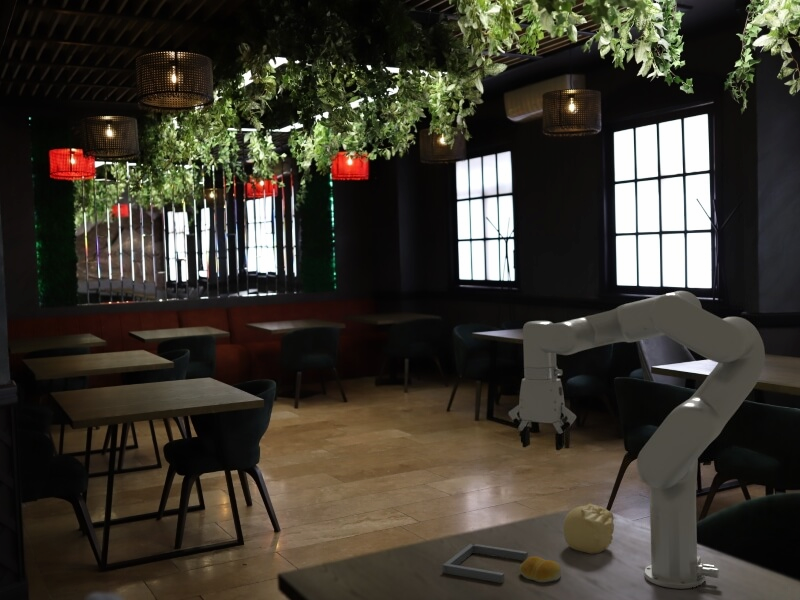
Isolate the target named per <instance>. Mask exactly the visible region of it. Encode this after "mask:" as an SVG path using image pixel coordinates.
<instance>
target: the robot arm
mask: <svg viewBox="0 0 800 600" xmlns="http://www.w3.org/2000/svg"><path fill="white" fill-rule="evenodd" d="M522 327H523V328H522V335H523V336H522V340H523V368H524V369H523V371H524V372H523V373H524V374H523V375H524V378H522V379H521V383H520V391H519V401H518V403H519V404H517V405H515V407H513V408H512V409H511V410H509V411H508V416H509V417H510V418H511V420H512V422H513V423H514V425H516V427H517V428H518V430H519V431H520V443H521V444H522V448H527V447H528V446H530V445H531V439H530V438H531V435H530V434H531V433H530V431H531V430H530V428H528V427H529V425H530V423H531V422H533V423H545V424H546V423H547V424H552V425H553V426H554V428H555V430H556V433H555V435H554V436H555V440H554V441H555V450H556V451H560V450H562V449H563V448H564V447H565V432H566V431H567V430H568V428H570V427H571V426H572V425H573V423H574V422H575V420H576V419H577V415H576V414H575V413H573V412H572V411H571V410H570V409H569V408H567V407H566V404H565V398H564V397H565V395H564V389H563V385H562V381H561V380H562V379H561V378H558V376H563V369H559V368H558V366H557V355H563V356H569V355H573V354H576V353H578V352H582V351H585V350H589V349H593V348H597V347H602V346H606V345H610V344H615V343H621V342H622V343H623V342H624V343H625V342H626V343H634V342H635V343H636V342H640V341H644V340H647V339H652V338H657V337H662V336H667V337H668V338H669V339H672V340H673V341H675V343H677V344H680V345H682V346H684V347H685V348H686V349H689V350H691V352H692V351H693V352H694V353H696V354H698V355H700V356H701V357H704V359H705V358H706V360H707V359H708V360H710V361H712V362H715V363H717V364H716V365H715V367H714V368H713V370H712V371H710V373H709V374H708V375H707V376H706V378H705V379H704V381H703V382H702V384H701V385H700V386H699V387H698V388H697V390H696V391H695V392H694V393H693V394H692V395H691V397H689V399H687V400H685V401H684V402H682V403H681V404H679V405H678V406H676V407H675V408H674V409H673V410H672V411H671V412H670V413H669V414H668V415H667V416H666V417H665V419H664V420H663V422H662V423H661V424H660V425H659V427H658V428H657V429H656V430H655V431H654V433H653V434H652V435H651V437H650V438H649V440H648V441H647V442H646V443H645V444H644V446H643V447H642V448H641V450H640V451H639V453H638V455H637V458H636V469H637V474H638V475H639V478H640V479H641V481H643V483H645V485H647V486H649V515H650V516H649V519H650V520H649V523H650V526H649V527H650V556H651V557H650V558H651V559H650V560H651V564H650V565H647V566H646V567H645V568H644V570H643V571H644V573H643V575H644V578H645V579H646V580H647V581H648V582H649V583H652V584H654V585H657V586H661V587H664V588H670V589H677V590H678V589H681V590H682V589H683V590H685V589H692V587H693V588H696V586H697V587H699V586H698V585H700V584H701V585H703V584H704V583H705V582H706V577H709V578H712V579H719V577H720V576H719V575H720V571H719V568H716V567H715V564H707V563H704V562H703V561H702V562H701V558H702V557H701V556H700V555H698V546H697V545H698V540H697V537H698V536H697V477H698V468H699V467H698V465H699V464H698V463H699V461H698V459H699V458H700V456H701V455H702V454H703V453H704V451H705V450H706V449H707V448H708V446H709V445H710V444H711V443H712V442H713V441H714V440H716V438H718V436H719V435H720V434H721V432H722V431H723V429H724V427H725V426H726V424H727V423H728V421H730V419H731V418H732V417H733V416H734V415H735V413H736V412H737V410H739V408H740V406H741V405H742V404H743V402H744V401H745V399H746V398H747V397H748V396H749V394H750V393H751V392H752V391H753V389H754V388H755V386H756V384H757V383H758V381H759V379H760V377H761V375H762V373H763V370H764V365H765V359H766V356H765V355H766V352H765V345H764V341H763V339H762V337H761V335H760V333H759V330H758V329H757V328H756V327H755V325H753V324H752V323H751V322H750V321H749V320H747V319H746V318H743V317H739V316H727V317H725V318H722V317H719V316H717V315H715V314H714V313H712V312H709V311H707V310H705V309H704V308H702V304H701V301H700V299H699V298H698V297H697V296H696V295H695V294H693V293H692V292H689V291H685V290H677V291H674V292H668V293H665V294H662V295H661V294H660V295H656V296H653V297H649V298H648V297H647V298H646V299H641V300H637V301H633V302H629V303H625V304H621V305H619V306H617V307H616V308H613V309H611V310H607V311H603V312H600V313H595V314H592V315H587V316H584V317H579V318H574V319H570V320H565V321H562V322H556V323H553V322H552V321H549V320H534V321H533V320H532V321H527V322H526V323H524V325H523V326H522ZM518 413H519V417H518ZM565 418H567V419H566V421H565V422H563V421H562V420H564V419H565ZM704 581H705V582H704ZM703 582H704V583H703ZM702 583H703V584H702ZM701 585H700V586H701Z"/></svg>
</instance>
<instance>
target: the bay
mask: <svg viewBox="0 0 800 600" xmlns="http://www.w3.org/2000/svg"><path fill="white" fill-rule="evenodd" d="M473 552H475V553H473ZM472 553H473V554H478V553H480V554H479V555H485V554H487V555H486V556H491V555H494V557H497V556H501V557H500V558H504V557H505V558H506V559H510V558H511V559H512V560H516V559H517V560H518V561H522V562H524V561H525V560H526V559H527V558H529V556H528V551H524V550H517V549H511V548H505V547H498V546H493V545H485V544H479V543H478V544H477V543H469V544H467V545H466V547H464V548H462V549H461V550H460V551H459V552H458V553H456V554H455V555H454V556H453V557H451V558H450V559H448V560H447V561H445V563H443V564H442V574H447V575H454V576H459V577H464V578H471V579H477V580H483V581H487V582H488V581H489V582H494V583H499V584H503V583H504V582H505V573H504V572H499V571H493V570H487V569H481V568H475V567H469V566H465V565H464V566H463V565H460V564H462V563H463V562H464V561H466V560H467V559H466V558H467V557H468V558H469V557H470V556H472V555H473V554H472ZM471 554H472V555H471ZM505 558H504V559H505ZM462 561H463V562H462ZM461 562H462V563H461Z"/></svg>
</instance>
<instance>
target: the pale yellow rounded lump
mask: <svg viewBox="0 0 800 600" xmlns="http://www.w3.org/2000/svg"><path fill="white" fill-rule="evenodd" d="M614 519H615V518H614V515H613V512H612V511H610V510H608V509H607V508H605V507H603V506H600V505H597V504H592V503H588V504H586V505H580V506H577V507H575V508H572V509H571V510H570V511H569V512H568V513H567V515H566V516H565V518H564V521H563V525H562V533H563V537H564V540H565V542H566V544H567V545H568V547H569V548H571V549H573V550H576V551H579V552H583V553H586V554H599V553H601V552H603V551H605V550H607V549H608V548H609V547H610V545H611V544H612V541H613V540H614V537H613V533H614V531H615V524H614Z"/></svg>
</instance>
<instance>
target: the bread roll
mask: <svg viewBox="0 0 800 600" xmlns="http://www.w3.org/2000/svg"><path fill="white" fill-rule="evenodd" d="M519 572H520V574H521V576H522V577H524V578H525V579H527V580H531V581H535V582H538V583H550V582H555V581H557V580H559V579H560V577H561V576H562V568H561V565H560V564H559V563H558V562H557V561H554V560H551V559H544V558H542V557H540V556H537V555H535V556H533V555H532V556H528V558H527V559H526V560H525V561H522V563H521V564H520V566H519Z"/></svg>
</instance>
